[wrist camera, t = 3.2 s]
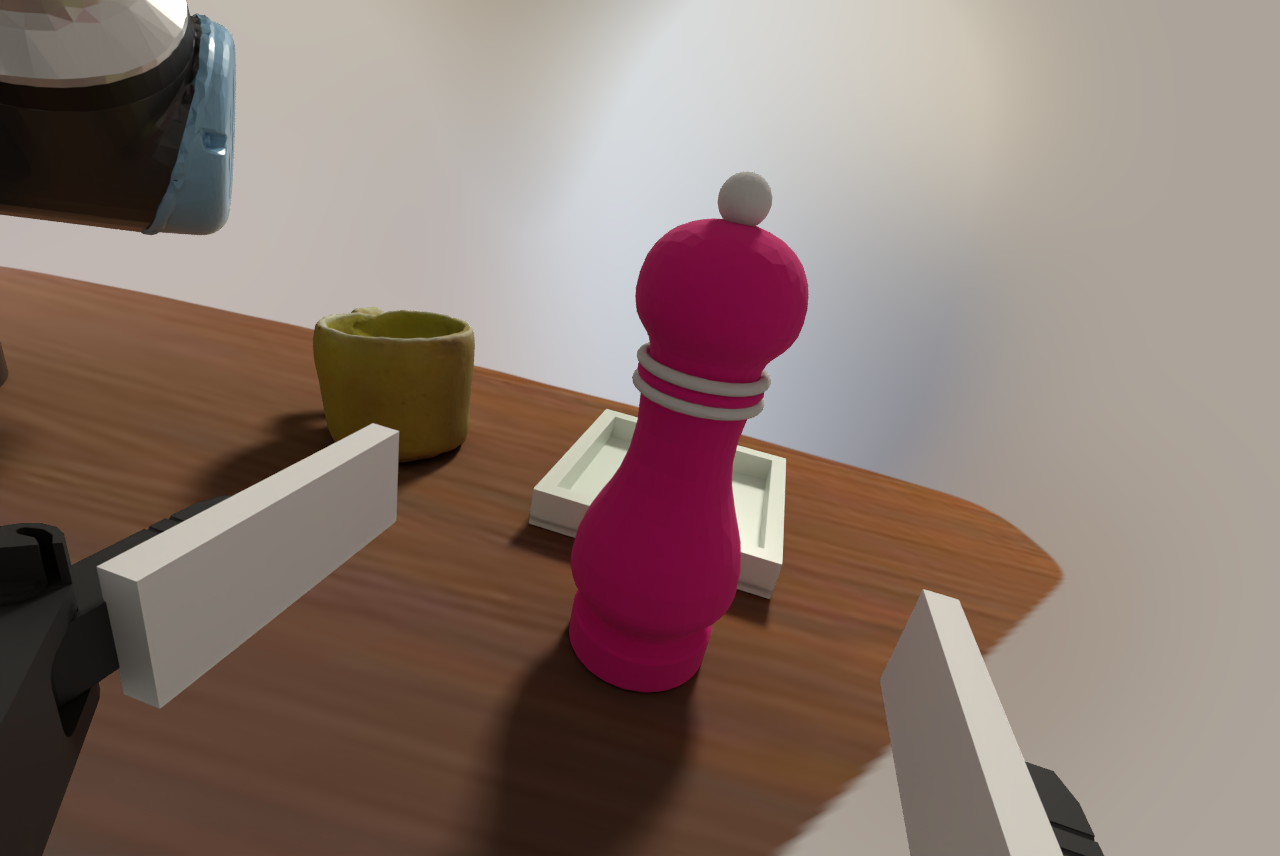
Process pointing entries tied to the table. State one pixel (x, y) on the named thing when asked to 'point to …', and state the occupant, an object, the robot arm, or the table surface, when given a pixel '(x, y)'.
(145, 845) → the table surface
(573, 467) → the tray
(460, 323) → the mug
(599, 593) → the pepper mill
